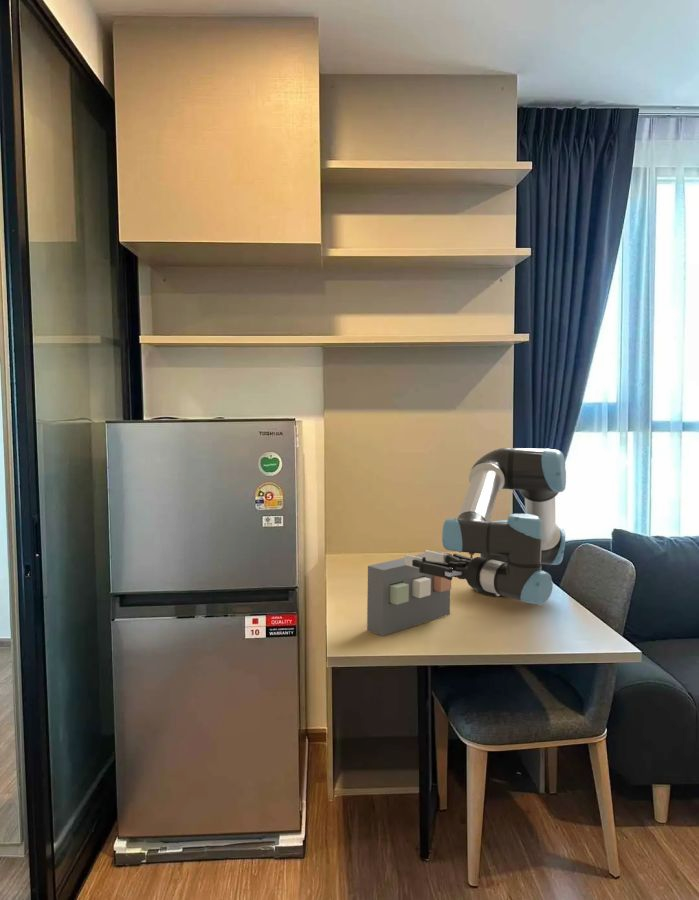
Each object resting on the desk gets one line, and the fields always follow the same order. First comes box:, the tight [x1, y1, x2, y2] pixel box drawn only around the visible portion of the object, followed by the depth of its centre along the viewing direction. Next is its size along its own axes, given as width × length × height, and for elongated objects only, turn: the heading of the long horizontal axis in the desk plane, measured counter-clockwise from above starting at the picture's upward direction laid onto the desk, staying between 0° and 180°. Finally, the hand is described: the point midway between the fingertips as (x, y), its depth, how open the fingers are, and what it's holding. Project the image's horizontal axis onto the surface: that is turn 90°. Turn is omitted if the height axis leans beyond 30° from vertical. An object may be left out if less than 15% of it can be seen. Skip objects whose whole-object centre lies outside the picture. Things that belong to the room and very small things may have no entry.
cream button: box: [412, 576, 431, 598], centre depth 186 cm, size 5×6×5 cm
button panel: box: [366, 550, 452, 637], centre depth 189 cm, size 28×6×18 cm, turn 132°
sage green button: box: [389, 582, 409, 605], centre depth 180 cm, size 5×6×5 cm
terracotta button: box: [433, 575, 452, 592], centre depth 192 cm, size 5×6×5 cm
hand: (416, 557), depth 174 cm, fingers open, 7 cm apart
